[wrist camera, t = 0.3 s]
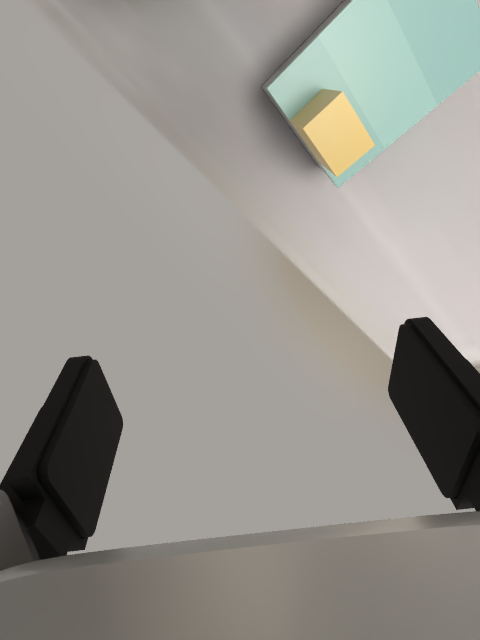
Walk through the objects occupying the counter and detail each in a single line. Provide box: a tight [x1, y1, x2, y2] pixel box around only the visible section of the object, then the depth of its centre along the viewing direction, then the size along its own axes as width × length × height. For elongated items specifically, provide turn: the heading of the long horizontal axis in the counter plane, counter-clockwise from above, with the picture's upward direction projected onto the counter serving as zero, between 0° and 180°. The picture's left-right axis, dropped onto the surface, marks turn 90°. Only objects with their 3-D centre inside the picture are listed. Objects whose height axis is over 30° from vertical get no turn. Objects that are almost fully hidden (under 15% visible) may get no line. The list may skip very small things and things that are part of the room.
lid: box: [266, 0, 480, 188], centre depth 24 cm, size 13×9×7 cm
